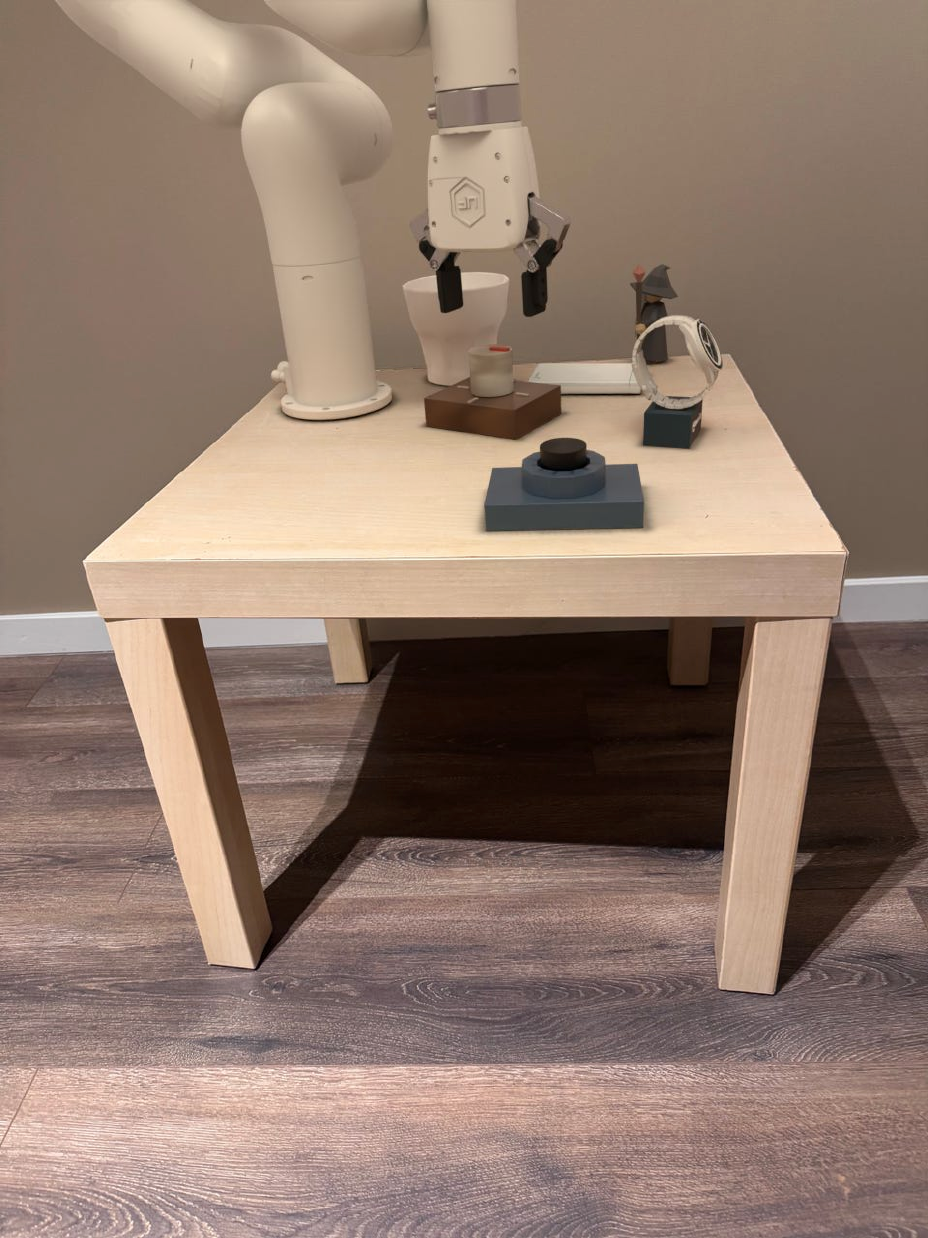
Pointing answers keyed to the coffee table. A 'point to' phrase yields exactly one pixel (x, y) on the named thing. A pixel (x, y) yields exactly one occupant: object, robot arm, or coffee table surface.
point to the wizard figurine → (652, 310)
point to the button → (563, 454)
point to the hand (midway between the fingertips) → (492, 311)
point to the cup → (456, 322)
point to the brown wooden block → (493, 409)
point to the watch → (673, 415)
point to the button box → (564, 496)
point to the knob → (491, 370)
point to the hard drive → (588, 378)
